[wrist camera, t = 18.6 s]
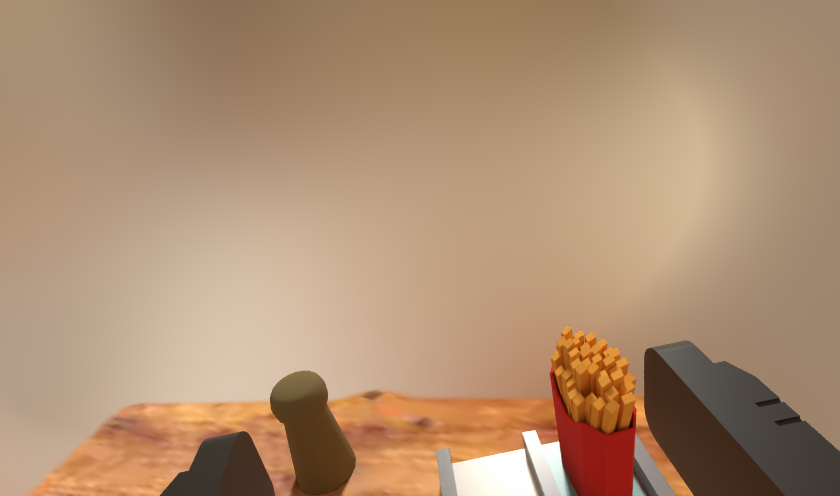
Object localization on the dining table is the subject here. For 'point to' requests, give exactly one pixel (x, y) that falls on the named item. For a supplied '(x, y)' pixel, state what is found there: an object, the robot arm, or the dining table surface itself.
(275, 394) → the cork
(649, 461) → the slot rack
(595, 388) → the french fries
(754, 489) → the robot arm
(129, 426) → the dining table surface
